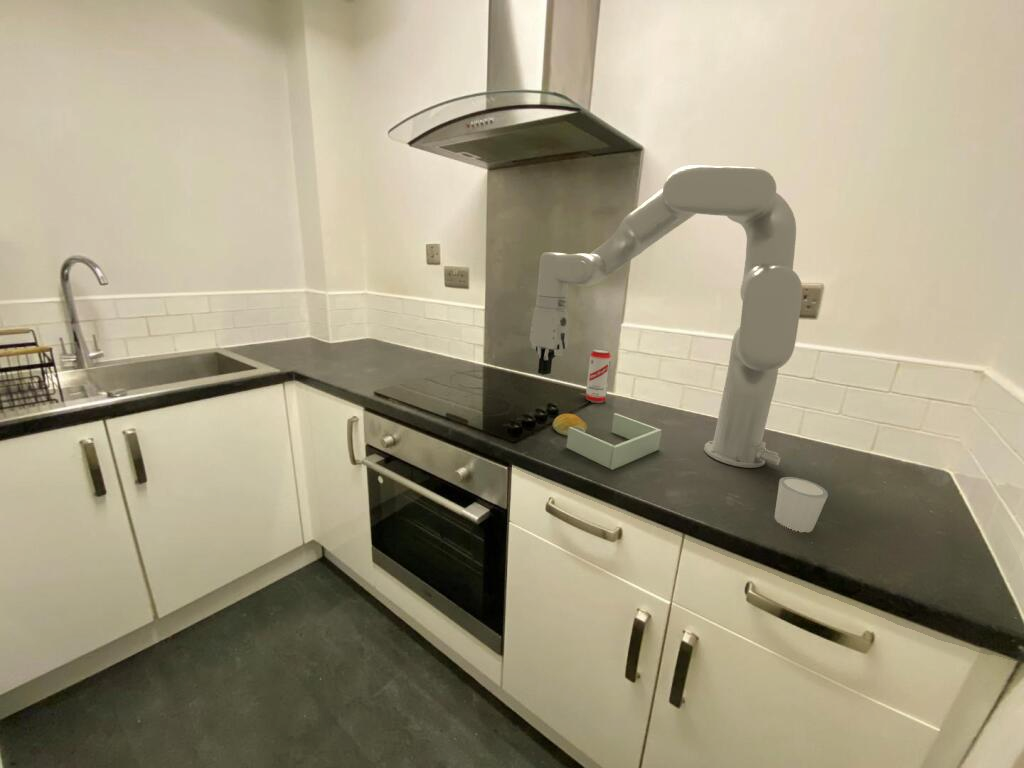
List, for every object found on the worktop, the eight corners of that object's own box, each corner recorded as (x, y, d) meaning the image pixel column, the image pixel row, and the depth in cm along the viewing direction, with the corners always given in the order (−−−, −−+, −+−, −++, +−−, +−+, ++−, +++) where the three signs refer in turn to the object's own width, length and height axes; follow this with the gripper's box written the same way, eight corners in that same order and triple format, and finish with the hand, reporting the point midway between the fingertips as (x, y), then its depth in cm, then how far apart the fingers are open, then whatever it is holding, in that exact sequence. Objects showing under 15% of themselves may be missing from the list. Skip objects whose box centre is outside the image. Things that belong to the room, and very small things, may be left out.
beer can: (605, 404, 128) (612, 353, 123) (585, 402, 129) (590, 351, 124) (605, 398, 134) (611, 349, 129) (585, 396, 135) (591, 347, 130)
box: (658, 449, 98) (661, 429, 96) (612, 469, 87) (615, 447, 85) (613, 431, 107) (615, 413, 106) (566, 447, 96) (568, 427, 95)
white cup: (798, 511, 75) (808, 476, 73) (827, 535, 69) (839, 497, 67) (761, 510, 75) (770, 475, 73) (787, 534, 68) (797, 496, 66)
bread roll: (577, 423, 112) (578, 409, 111) (590, 436, 104) (592, 421, 103) (547, 424, 110) (548, 409, 109) (558, 437, 102) (560, 422, 101)
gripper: (583, 307, 103) (574, 378, 108) (541, 300, 113) (535, 365, 119) (562, 307, 98) (554, 382, 103) (520, 300, 109) (515, 368, 114)
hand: (544, 373), depth 111 cm, fingers closed
